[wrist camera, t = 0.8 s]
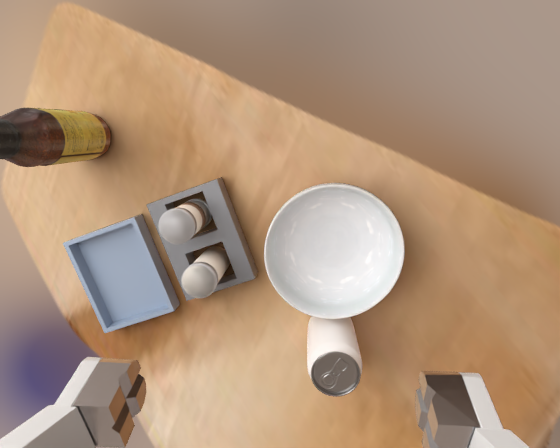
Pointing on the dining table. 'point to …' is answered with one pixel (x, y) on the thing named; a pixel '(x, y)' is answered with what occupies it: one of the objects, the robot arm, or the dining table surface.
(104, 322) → the parts tray
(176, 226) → the fuse
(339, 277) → the cereal bowl
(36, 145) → the sauce bottle
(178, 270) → the block
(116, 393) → the robot arm
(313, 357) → the can
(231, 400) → the dining table surface
